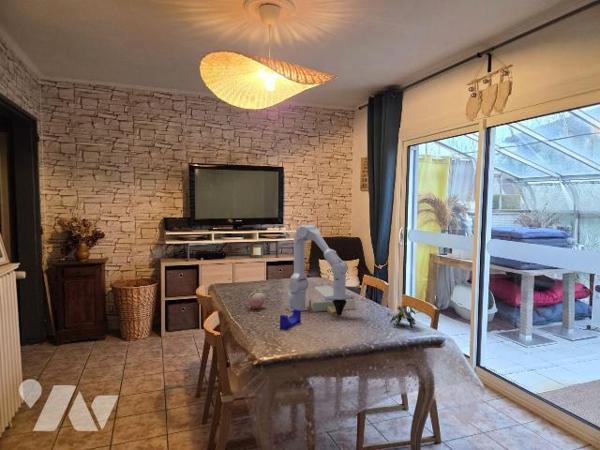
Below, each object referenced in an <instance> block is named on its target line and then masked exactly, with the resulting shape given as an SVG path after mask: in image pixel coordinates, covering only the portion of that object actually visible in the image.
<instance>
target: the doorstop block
mask: <svg viewBox="0 0 600 450" xmlns="http://www.w3.org/2000/svg"><path fill="white" fill-rule="evenodd" d="M326 312H327V313H328V314H329V315H330V316H331V318H332V317H333V318H335V317H336V318H337V317H339V316H338V315H337V312H336V308H335V306H327V311H326Z"/></svg>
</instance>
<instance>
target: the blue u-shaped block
mask: <svg viewBox="0 0 600 450" xmlns="http://www.w3.org/2000/svg"><path fill="white" fill-rule="evenodd" d="M292 312H293V313H292V315H290V316H288V315H287V314H280V315H279V329H280V330H283V331H286V330H288V329H291V328H292V327H295V326H297V325H299V324H301V323H302V322H301V314H302V311H301V310H297V309H295V310H293V311H292Z"/></svg>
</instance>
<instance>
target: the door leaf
mask: <svg viewBox="0 0 600 450" xmlns="http://www.w3.org/2000/svg"><path fill="white" fill-rule="evenodd" d="M327 306H335V305H334V303H333V301H328V302H326V301H317V302H312V312H313V313H314V312H327Z"/></svg>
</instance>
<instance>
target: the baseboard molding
mask: <svg viewBox="0 0 600 450" xmlns="http://www.w3.org/2000/svg"><path fill="white" fill-rule="evenodd" d="M312 288H313V289H315V290H316V291H318V293H319V294H321V295H322V296H323V297H324V298H325V297H327V296H333V293H334V287H332V286H331V284H328V285H324V284H323V283H322V284H321V283H320V284H319V285H316V284H315V285H313V286H312Z"/></svg>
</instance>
